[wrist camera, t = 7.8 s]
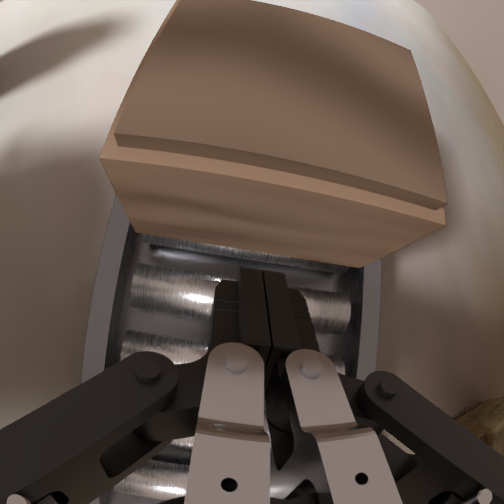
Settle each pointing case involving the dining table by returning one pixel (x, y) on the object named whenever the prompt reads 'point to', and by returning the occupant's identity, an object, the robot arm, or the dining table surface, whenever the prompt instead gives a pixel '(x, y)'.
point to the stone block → (487, 423)
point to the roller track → (208, 321)
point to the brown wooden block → (276, 136)
